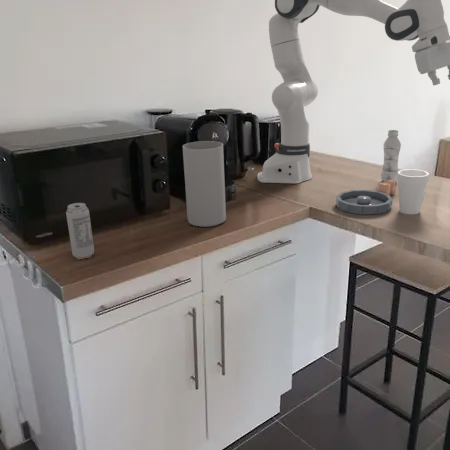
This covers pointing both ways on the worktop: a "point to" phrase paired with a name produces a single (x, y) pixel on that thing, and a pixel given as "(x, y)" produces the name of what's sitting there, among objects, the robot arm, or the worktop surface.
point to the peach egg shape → (391, 185)
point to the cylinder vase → (204, 183)
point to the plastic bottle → (391, 156)
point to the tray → (370, 209)
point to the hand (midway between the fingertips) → (444, 81)
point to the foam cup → (411, 190)
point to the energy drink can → (80, 230)
